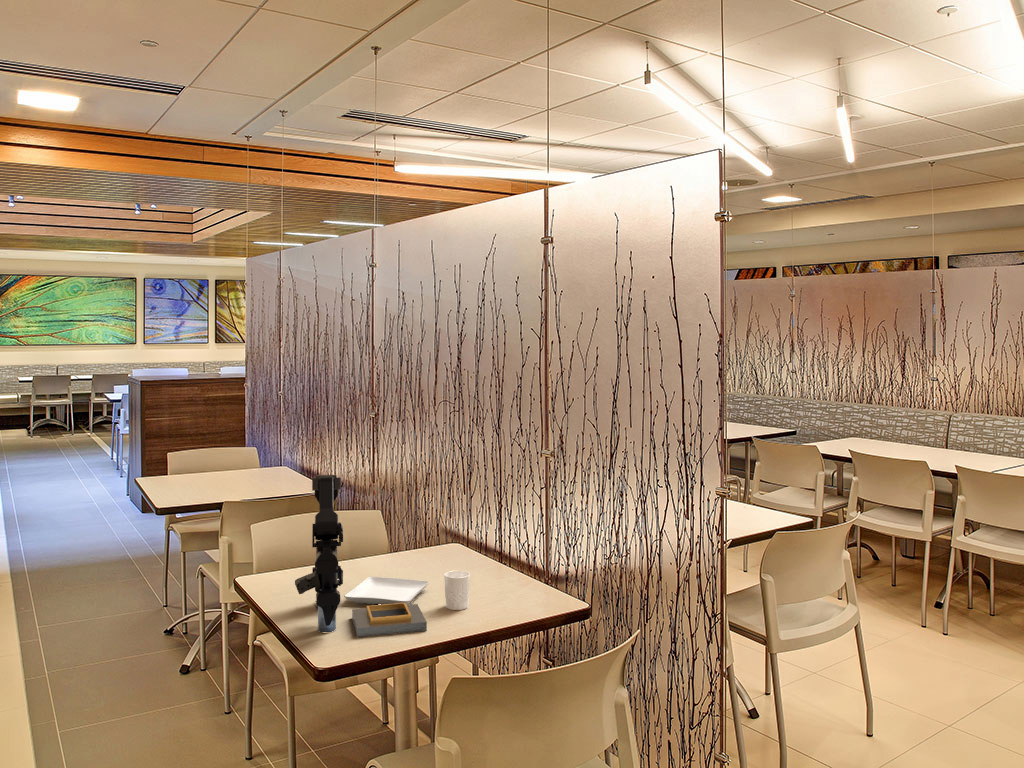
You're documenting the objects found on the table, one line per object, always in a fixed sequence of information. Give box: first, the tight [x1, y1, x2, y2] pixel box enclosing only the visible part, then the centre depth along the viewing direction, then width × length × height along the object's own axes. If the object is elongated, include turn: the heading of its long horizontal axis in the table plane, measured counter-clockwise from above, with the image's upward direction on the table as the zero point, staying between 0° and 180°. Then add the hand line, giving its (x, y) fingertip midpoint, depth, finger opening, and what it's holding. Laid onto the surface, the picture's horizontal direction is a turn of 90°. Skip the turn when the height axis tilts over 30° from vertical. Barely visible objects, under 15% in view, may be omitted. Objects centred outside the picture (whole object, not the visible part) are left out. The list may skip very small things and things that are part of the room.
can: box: [317, 606, 337, 633], centre depth 214 cm, size 5×5×8 cm
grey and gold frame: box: [351, 603, 428, 638], centre depth 219 cm, size 16×19×4 cm
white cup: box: [443, 570, 471, 611], centre depth 235 cm, size 8×8×10 cm
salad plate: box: [343, 576, 430, 605], centre depth 244 cm, size 21×21×3 cm
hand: (326, 619), depth 214 cm, fingers open, 9 cm apart
